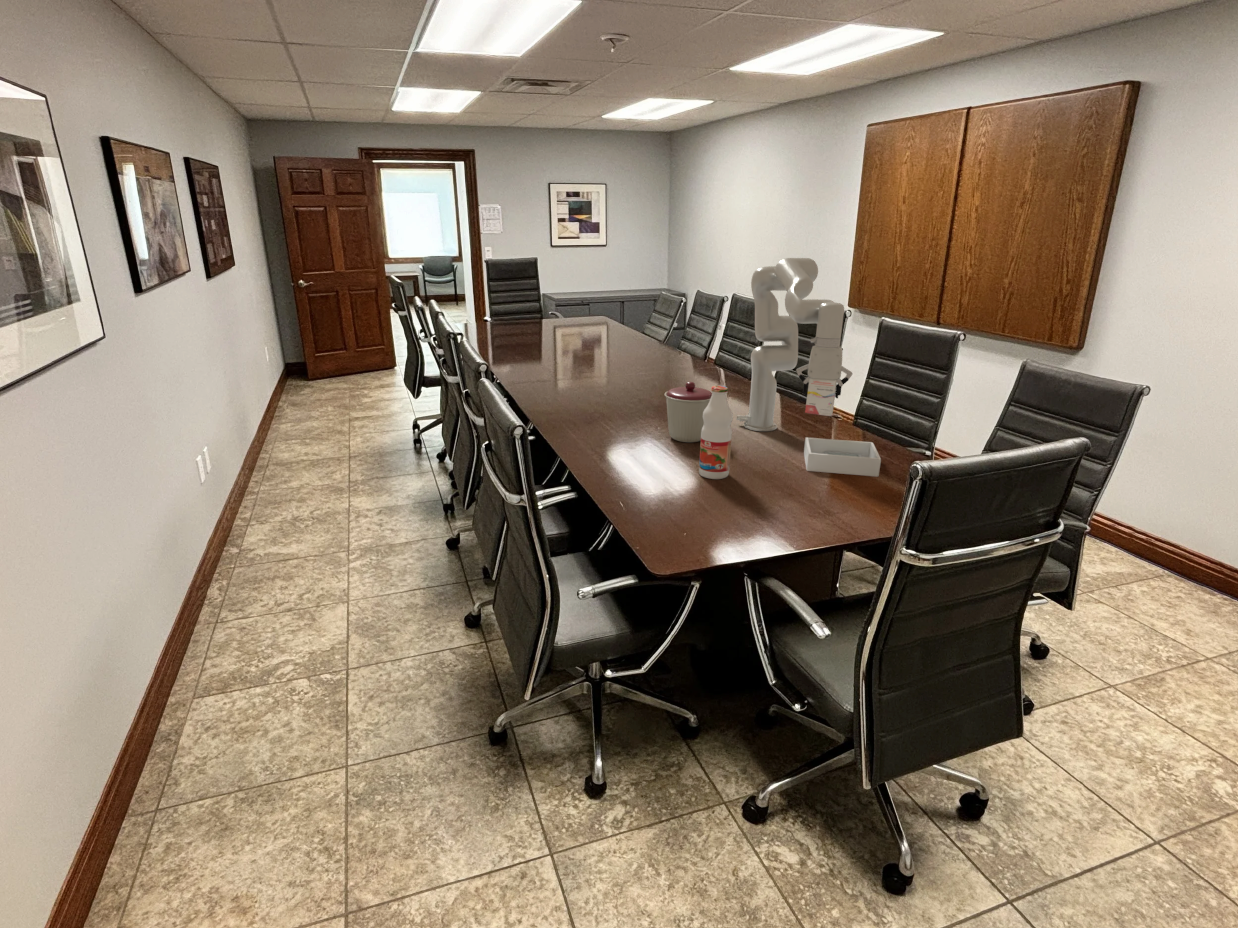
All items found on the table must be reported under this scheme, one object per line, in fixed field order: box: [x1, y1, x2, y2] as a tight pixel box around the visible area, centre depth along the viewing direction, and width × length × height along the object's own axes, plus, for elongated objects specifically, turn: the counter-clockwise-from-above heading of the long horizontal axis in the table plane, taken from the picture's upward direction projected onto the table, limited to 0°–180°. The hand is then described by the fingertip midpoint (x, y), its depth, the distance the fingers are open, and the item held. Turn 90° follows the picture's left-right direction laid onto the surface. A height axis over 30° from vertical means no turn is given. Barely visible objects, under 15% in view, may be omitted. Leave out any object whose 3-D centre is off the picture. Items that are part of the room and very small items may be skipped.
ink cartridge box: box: [804, 378, 838, 417], centre depth 222 cm, size 9×5×15 cm, turn 69°
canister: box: [664, 381, 712, 443], centre depth 249 cm, size 18×18×21 cm
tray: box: [803, 436, 882, 477], centre depth 227 cm, size 22×18×6 cm
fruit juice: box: [698, 385, 734, 480], centre depth 212 cm, size 9×9×28 cm
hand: (821, 396), depth 223 cm, fingers closed on ink cartridge box, 9 cm apart
